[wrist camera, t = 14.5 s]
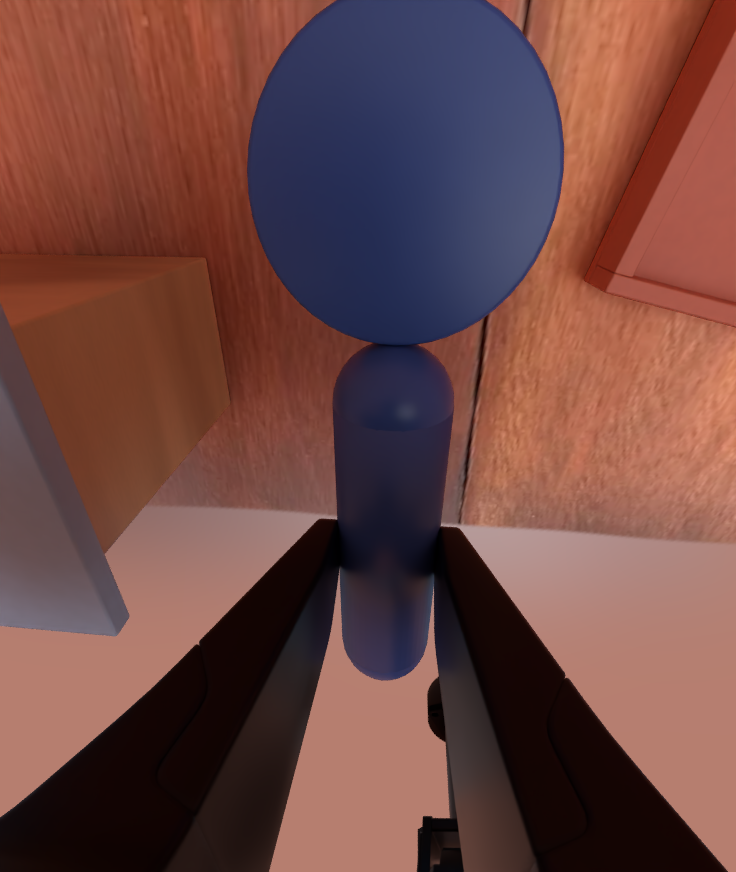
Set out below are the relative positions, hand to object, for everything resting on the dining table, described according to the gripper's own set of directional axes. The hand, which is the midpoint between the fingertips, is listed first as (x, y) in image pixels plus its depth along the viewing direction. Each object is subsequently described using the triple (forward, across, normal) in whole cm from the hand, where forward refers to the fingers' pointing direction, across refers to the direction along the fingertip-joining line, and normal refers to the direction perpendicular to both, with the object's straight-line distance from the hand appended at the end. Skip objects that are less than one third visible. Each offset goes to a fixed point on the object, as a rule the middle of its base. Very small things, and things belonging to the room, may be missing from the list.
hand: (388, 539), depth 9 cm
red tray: (+10, -18, -21) cm, 29 cm away
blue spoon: (+1, 0, -2) cm, 2 cm away
